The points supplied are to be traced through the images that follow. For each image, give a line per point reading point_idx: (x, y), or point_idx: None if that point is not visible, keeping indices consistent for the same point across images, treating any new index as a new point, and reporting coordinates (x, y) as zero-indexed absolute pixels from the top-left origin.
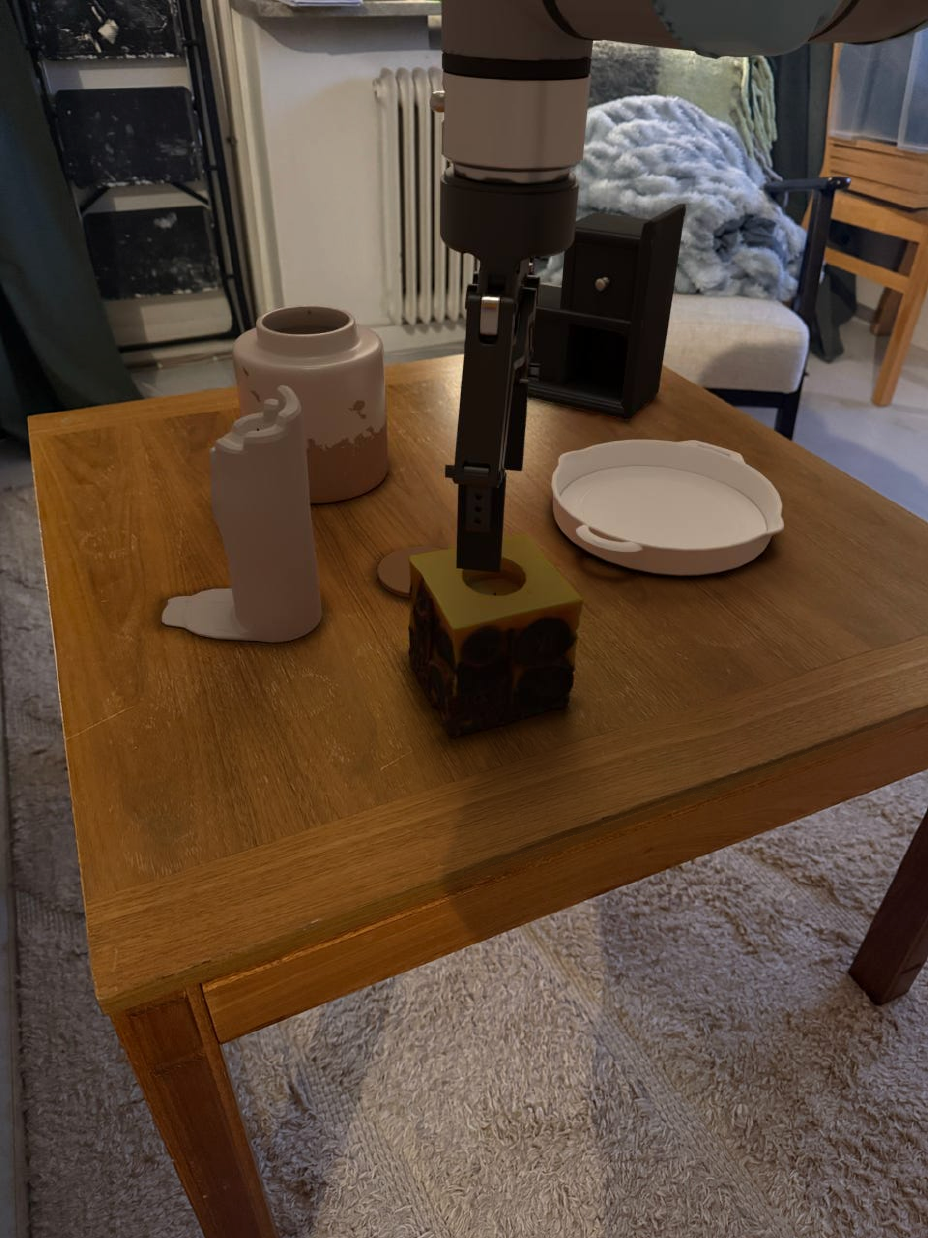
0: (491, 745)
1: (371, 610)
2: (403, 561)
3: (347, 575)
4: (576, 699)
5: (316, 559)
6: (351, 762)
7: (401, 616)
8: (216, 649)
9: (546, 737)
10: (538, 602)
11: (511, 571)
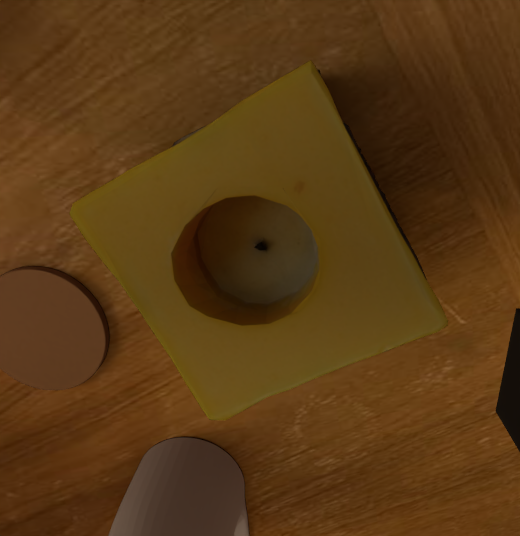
0: (412, 187)
1: (149, 380)
2: (29, 358)
3: (78, 421)
4: (298, 62)
5: (148, 507)
6: (453, 357)
7: (153, 340)
8: (266, 531)
9: (390, 107)
10: (338, 164)
11: (196, 224)
